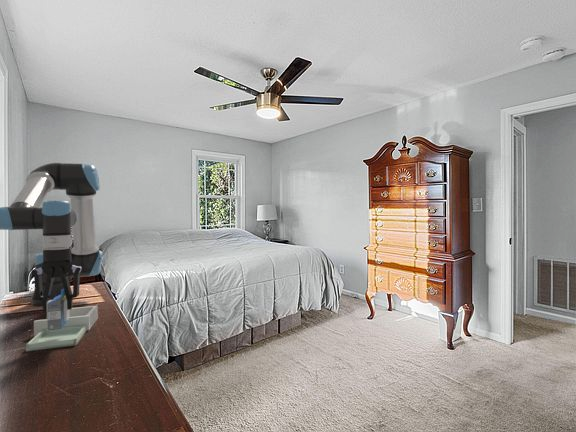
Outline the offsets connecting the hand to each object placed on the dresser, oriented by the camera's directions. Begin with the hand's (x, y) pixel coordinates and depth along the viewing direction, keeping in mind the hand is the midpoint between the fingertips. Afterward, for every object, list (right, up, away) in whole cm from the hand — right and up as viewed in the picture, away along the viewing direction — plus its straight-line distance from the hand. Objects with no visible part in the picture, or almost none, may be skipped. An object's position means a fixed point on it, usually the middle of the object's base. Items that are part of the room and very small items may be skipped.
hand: (58, 320), depth 106 cm
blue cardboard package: (0, -2, 0) cm, 2 cm away
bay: (-5, -6, +13) cm, 15 cm away
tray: (0, -7, 0) cm, 7 cm away
